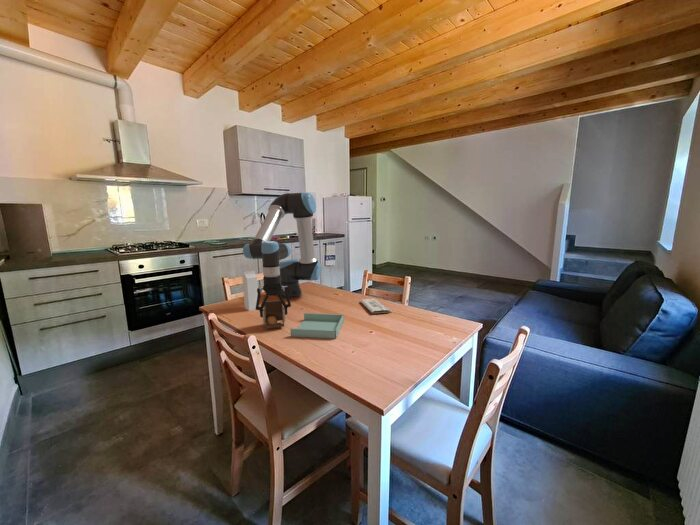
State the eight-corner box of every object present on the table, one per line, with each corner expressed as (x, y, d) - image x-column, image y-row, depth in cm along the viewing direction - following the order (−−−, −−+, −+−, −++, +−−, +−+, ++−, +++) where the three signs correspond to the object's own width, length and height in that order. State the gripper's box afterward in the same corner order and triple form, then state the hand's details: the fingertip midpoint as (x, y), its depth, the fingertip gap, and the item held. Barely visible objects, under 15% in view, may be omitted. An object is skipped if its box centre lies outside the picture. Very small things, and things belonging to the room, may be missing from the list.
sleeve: (265, 321, 137) (264, 301, 136) (283, 319, 139) (282, 300, 138) (265, 328, 129) (263, 307, 127) (284, 326, 131) (283, 305, 130)
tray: (304, 319, 143) (304, 313, 142) (343, 321, 140) (343, 314, 139) (290, 336, 123) (290, 328, 122) (336, 338, 120) (335, 331, 120)
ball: (268, 323, 137) (268, 313, 137) (278, 324, 137) (278, 314, 136) (264, 327, 133) (264, 317, 132) (274, 328, 132) (274, 318, 131)
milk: (259, 309, 159) (257, 271, 155) (249, 312, 155) (246, 272, 151) (254, 307, 163) (252, 269, 160) (244, 309, 159) (241, 270, 156)
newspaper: (393, 313, 151) (393, 309, 151) (371, 315, 148) (371, 311, 148) (378, 301, 173) (378, 297, 173) (359, 303, 170) (359, 299, 170)
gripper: (246, 278, 124) (250, 327, 128) (295, 275, 130) (298, 322, 133) (247, 275, 131) (251, 322, 135) (294, 272, 137) (296, 317, 140)
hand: (274, 322), depth 134 cm, fingers closed on sleeve, 8 cm apart
